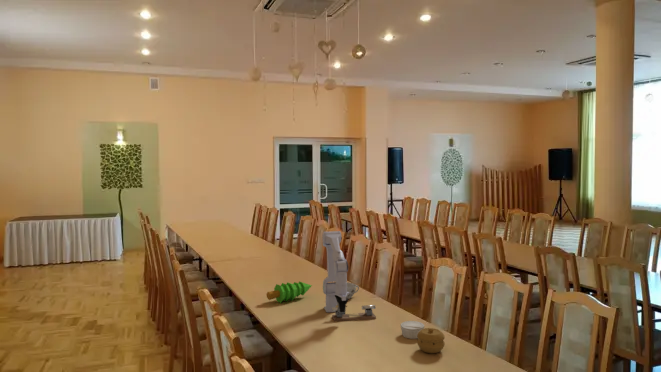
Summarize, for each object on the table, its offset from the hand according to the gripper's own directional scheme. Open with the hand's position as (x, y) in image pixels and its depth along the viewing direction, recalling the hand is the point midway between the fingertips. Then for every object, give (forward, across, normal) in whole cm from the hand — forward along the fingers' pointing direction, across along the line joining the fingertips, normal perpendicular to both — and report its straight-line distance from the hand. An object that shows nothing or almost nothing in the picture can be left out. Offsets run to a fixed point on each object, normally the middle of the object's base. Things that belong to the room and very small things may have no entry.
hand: (341, 310), depth 246 cm
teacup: (+7, +45, -12) cm, 47 cm away
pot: (+7, -41, -32) cm, 53 cm away
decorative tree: (+7, +47, +22) cm, 52 cm away
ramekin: (+7, -22, -30) cm, 38 cm away
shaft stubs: (+6, +8, -8) cm, 13 cm away
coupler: (+2, 0, 0) cm, 2 cm away
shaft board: (+7, +8, -8) cm, 13 cm away
